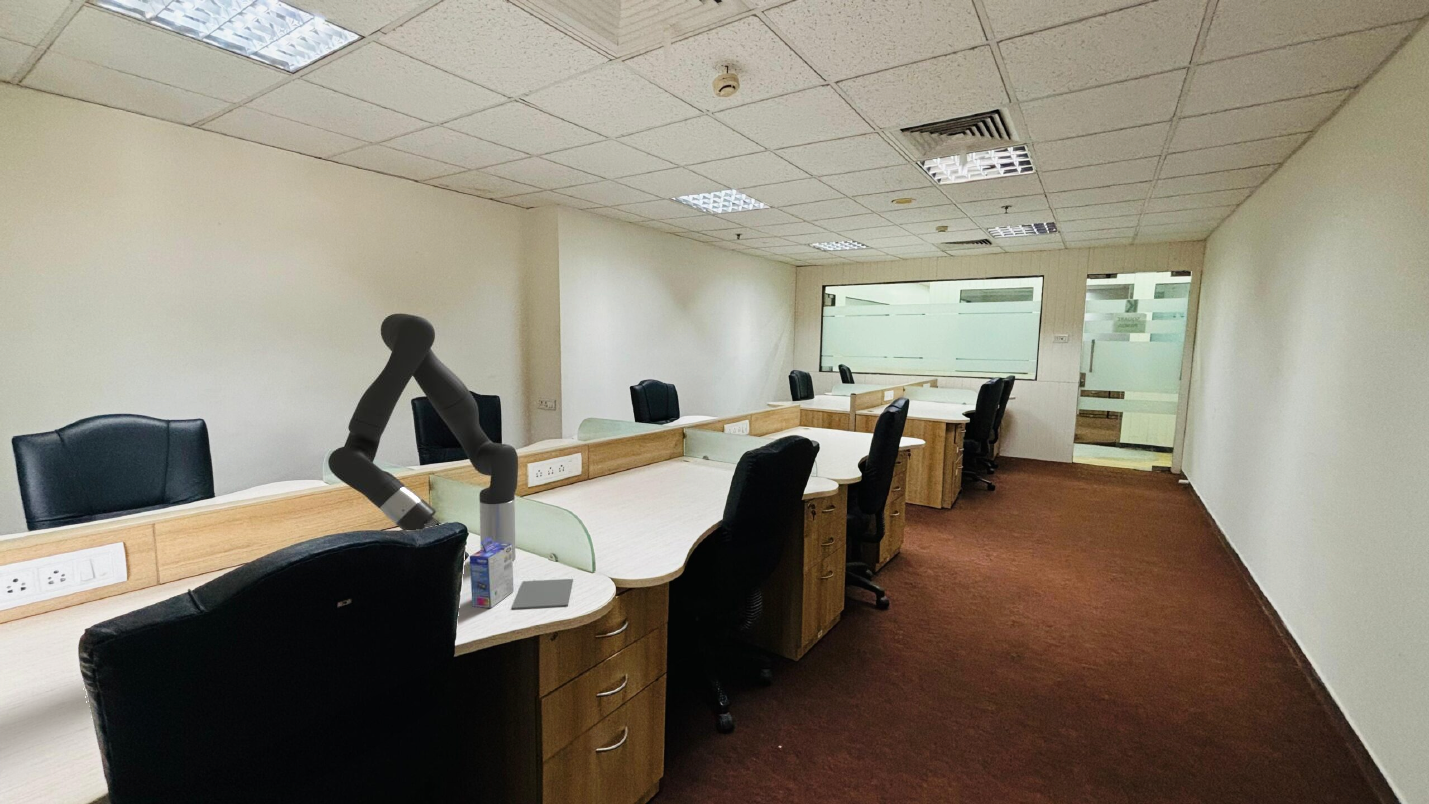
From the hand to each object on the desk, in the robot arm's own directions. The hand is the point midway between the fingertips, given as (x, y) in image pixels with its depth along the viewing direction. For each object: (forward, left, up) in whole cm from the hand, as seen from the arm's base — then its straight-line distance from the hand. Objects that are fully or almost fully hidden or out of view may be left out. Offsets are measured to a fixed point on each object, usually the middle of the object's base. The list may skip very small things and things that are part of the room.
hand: (465, 559), depth 132 cm
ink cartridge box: (0, +6, -10) cm, 12 cm away
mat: (-1, +18, -10) cm, 20 cm away
